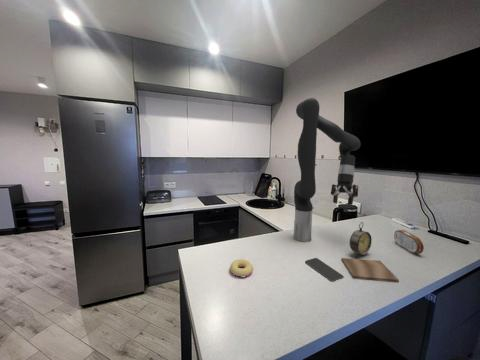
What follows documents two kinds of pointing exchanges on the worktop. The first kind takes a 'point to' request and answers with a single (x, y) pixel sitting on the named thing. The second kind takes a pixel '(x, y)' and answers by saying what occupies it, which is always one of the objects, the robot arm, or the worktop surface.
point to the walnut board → (369, 270)
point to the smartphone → (324, 269)
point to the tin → (408, 241)
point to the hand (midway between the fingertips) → (342, 203)
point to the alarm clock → (360, 241)
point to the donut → (239, 271)
